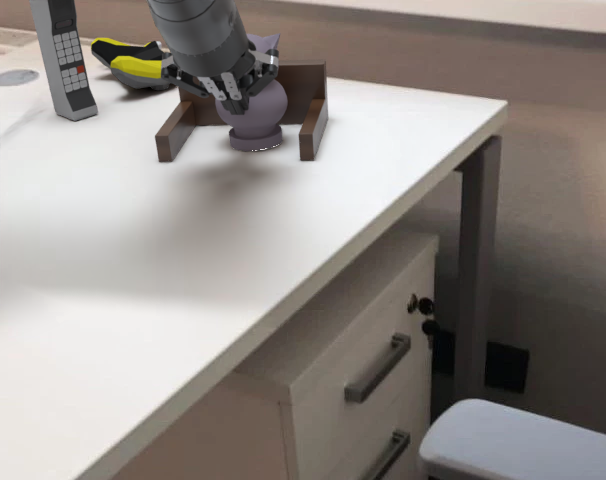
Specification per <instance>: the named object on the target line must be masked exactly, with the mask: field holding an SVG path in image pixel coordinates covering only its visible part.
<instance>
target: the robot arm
mask: <svg viewBox="0 0 606 480" xmlns="http://www.w3.org/2000/svg"><path fill="white" fill-rule="evenodd" d="M145 2H146V4H147V6H148V10H149V13H150V16H151V18H152V20H153V23H154V25H155V28H156V29H157V30H158V32H159V34H160V36H161V38H162V39H163V41H164V43H165V45H166V47H167V48H168V50H169V51H165V52H164V51H163V52H164V53H163V54H162V62H161V78H162V79H163V80H166V81H168V82H170V84H172V85H173V86H174V85H175V86H177V88H178V87H180V88H182V89H184V90H187V91H189V92H191V93H193V94H195V95H197V96H199V97H201V98H208V97H209V94H211V95H214V96H215V98H216V99H217V100H220V102H221V104H222V106H223V108H224V109H225V110H226V111H230V113H231V115H244V114H245V110H248V109H249V96H250V97H255V96H256V95H258V94H259V93H260V92H261V91H262V90H263V89H264V88H265V87H266V86H267V85H268V84H269V83H270V82H271V81H272V80H273V79H275V78H276V77H277V75H278V60H280V59H279V58H280V57H279V56H280V51H279V50H278V49H277V50H276V49H269V50H268V51H267V52H266V53H262V52H259V51H256V46H255V44H254V43H253V42H252V41H250V40H249V39H248V38H247V35H246V34H247V32H246V28H245V25H244V22H243V21H242V20H243V19H242V17H241V15H240V12H239V10H238V6H237V4H236V1H235V0H145ZM253 64H254V65H253ZM246 72H247V75H245V73H246ZM193 76H195V77H197V78H198V79H199V85H197V84H195V83H194V82H193Z"/></svg>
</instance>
